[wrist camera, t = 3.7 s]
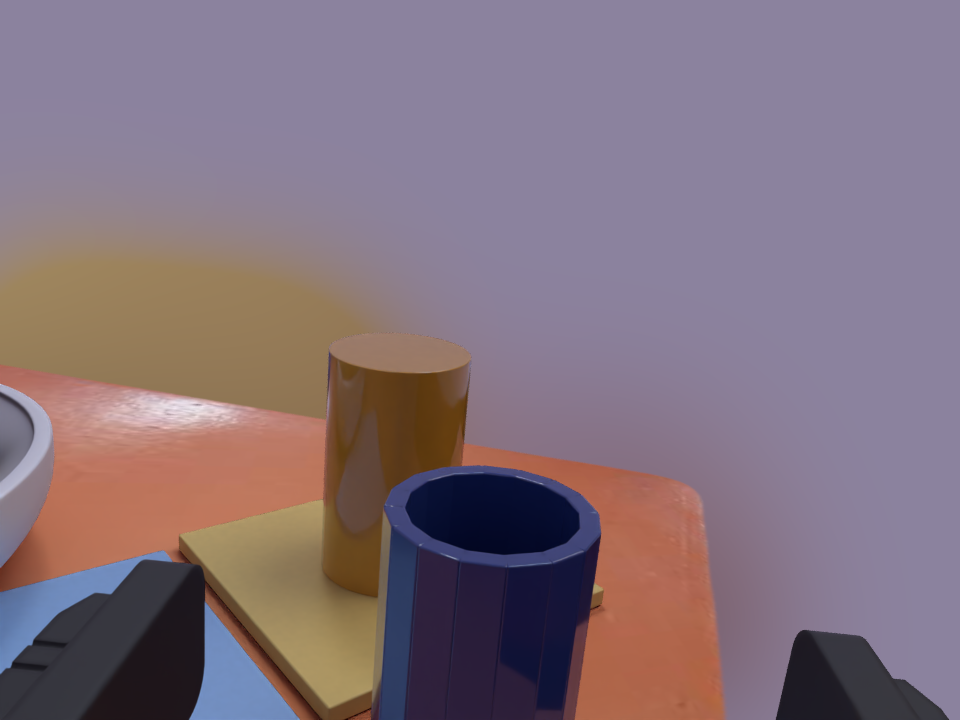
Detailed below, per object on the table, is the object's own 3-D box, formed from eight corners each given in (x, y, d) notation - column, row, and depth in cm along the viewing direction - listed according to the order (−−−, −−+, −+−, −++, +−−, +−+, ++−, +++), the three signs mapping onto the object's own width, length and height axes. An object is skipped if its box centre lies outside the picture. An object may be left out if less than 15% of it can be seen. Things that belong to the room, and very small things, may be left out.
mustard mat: (602, 604, 37) (605, 588, 36) (327, 728, 28) (328, 708, 28) (421, 486, 47) (422, 473, 47) (178, 549, 38) (178, 534, 38)
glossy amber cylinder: (479, 573, 37) (500, 361, 34) (366, 613, 33) (379, 380, 30) (404, 518, 41) (417, 327, 38) (297, 549, 37) (302, 340, 35)
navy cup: (599, 817, 25) (645, 527, 22) (445, 924, 21) (478, 591, 19) (476, 706, 30) (503, 451, 27) (331, 778, 26) (344, 490, 23)
